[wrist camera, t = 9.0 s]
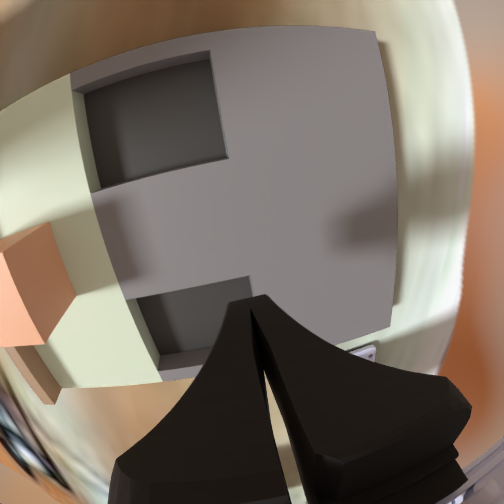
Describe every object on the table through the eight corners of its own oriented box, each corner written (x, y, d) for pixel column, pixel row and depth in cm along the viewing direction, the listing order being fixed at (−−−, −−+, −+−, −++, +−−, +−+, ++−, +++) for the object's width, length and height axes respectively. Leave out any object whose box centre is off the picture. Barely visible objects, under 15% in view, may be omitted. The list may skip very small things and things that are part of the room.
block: (76, 295, 14) (44, 343, 10) (25, 305, 14) (-9, 347, 10) (49, 221, 12) (2, 252, 8) (-2, 240, 12) (-46, 271, 8)
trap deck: (376, 312, 20) (402, 341, 17) (58, 371, 18) (44, 404, 15) (358, 40, 13) (392, 22, 9) (-28, 142, 11) (-63, 148, 7)
